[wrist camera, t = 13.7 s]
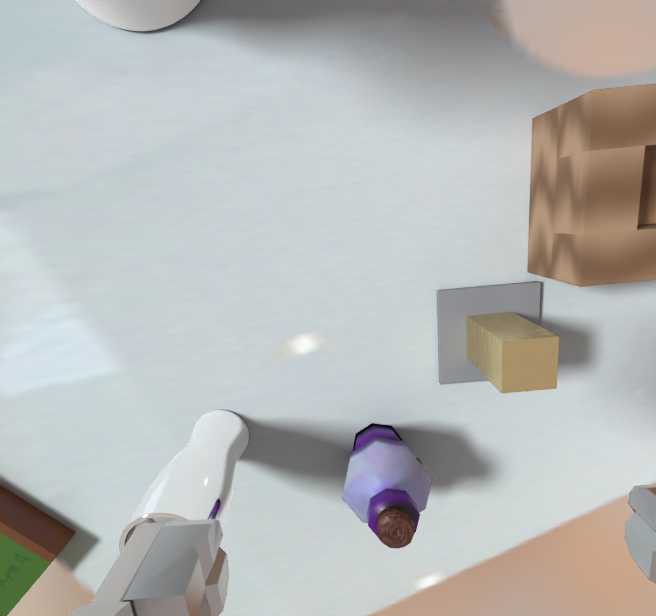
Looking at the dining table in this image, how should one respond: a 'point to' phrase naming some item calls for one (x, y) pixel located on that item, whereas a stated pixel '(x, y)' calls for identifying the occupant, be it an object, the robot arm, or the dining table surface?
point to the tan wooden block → (512, 352)
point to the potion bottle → (386, 485)
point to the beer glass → (196, 476)
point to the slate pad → (476, 302)
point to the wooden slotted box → (595, 188)
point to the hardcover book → (25, 546)
